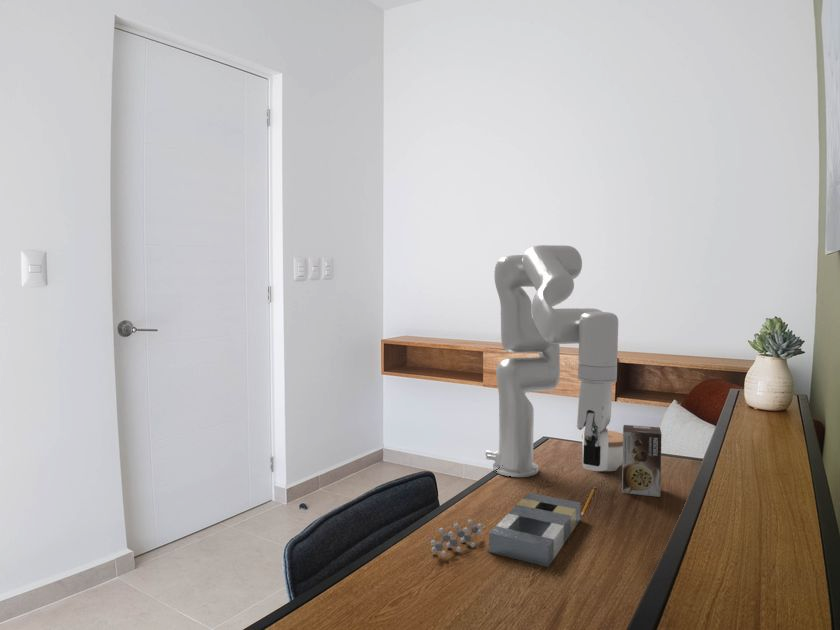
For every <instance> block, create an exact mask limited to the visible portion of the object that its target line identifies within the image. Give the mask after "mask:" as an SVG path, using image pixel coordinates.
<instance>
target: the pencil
mask: <svg viewBox="0 0 840 630" xmlns="http://www.w3.org/2000/svg"><path fill="white" fill-rule="evenodd" d="M596 489H597V486H593V488H592V489H591V492H590V493H589V496H588V497H587V499H586V502H585V503H584V504H585V505H584V507H583V509H581V510H582V511H580V517H581V516H583V515H584V514H585V513H586V512H587V511H586V510H587V508H588V506H589V504H590V502H591V499H592V498H593V496H594V493H595V492H596Z"/></svg>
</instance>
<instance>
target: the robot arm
mask: <svg viewBox="0 0 840 630" xmlns="http://www.w3.org/2000/svg"><path fill="white" fill-rule="evenodd" d="M582 268H583V260H582V256H581V254H580V252H579V250H578V249H577V248H575V247H574V246H571V245H563V244H561V245H560V244H559V245H555V244H553V245H552V244H551V245H550V244H549V245H547V244H544V245H543V244H542V245H541V244H539V245H534V246H531V247H530V248H528V249H527V250H526V251H525V252H524V253H523V254H515V255H514V254H511V255H507V256H506V255H505V256H504V257H501V258H500V259H498V260H497V262H496V263H495V267H494V284H495V288H496V292H497V294H498V299H499V301H500V302H499V304H500V338H501V346H502V348H503V350H505V352H507V353H513V354H514V353H515V354H516V353H517V354H526V353H527V354H529V353H532V354H533V353H537V354H538V357H537V356H536V357H510V358H505V359H503V360H502V361H500V362H499V363H498V364H497V366H496V370H495V376H496V384H497V390H498V406H499V407H498V411H499V412H498V450H497V451H493V450H486V451H485V458H486V460H491V461H494V463H493V465H492V470H493V471H494V472H495V473H496V474H499V475H502V476H506V477H509V476H511V478H512V477H513V478H527V477H532V476H534V475H537V474H538V473H539V469H540V468H539V465H538V464H537V463H535V462H534V424H535V423H534V421H535V420H534V416H535V413H534V412H535V410H534V405H533V404H532V402H531V401H530V400H529V399H528V397H527V395H526V393H533V392H534V393H537V392H550V391H553V390H555V389H556V388H557V387H559V383H560V378H561V375H560V374H561V362H560V360H561V359H560V353H561V352H560V349H561V347H560V346H561V345H564V344H565V345H567V344H568V345H569V344H570V345H571V344H572V345H573V344H575V345H576V344H578V359H577V360H578V364H577V365H578V367H577V369H578V370H577V379H578V381H580V386H579V387H580V388H579V395H578V407H577V408H578V409H577V420H576V421H577V422H576V424H577V425H576V427H577V429H578V430H579V431H581V430H583V429H584V431H583V432H584V456H583V463H584V464H586V465H592V466H599V465H600V451H601V446H599V439H600V432H601V431H604V432H606V433H607V431H606V429H607V427H608V425H609V424H610V423H611V417H612V395H613V394H612V388H613V387H612V384H614V383H617V382H618V381H617V380H618V379H617V378H618V348H619V346H618V345H619V343H618V342H619V318H618V316H617V314H615V313H613V312H608V311H602V310H600V309H598V308H554V307H555V306H557V305H559V304H561V303H562V302H565V301H566V300H567V299H568V298H569V297H570V296H571V295H572V293H573V292H574V289H575V288H574V287H575V281H574V280H575V279H576V278H577V277H579V275H580V274H581V271H582ZM523 287H524V288H525V287H526V288H528V287H529V288H530V287H531V288H532V287H533V288H534V289H535V290H536V292H535V294H534V295H533V299H531V298H530V296H529V295H528V293H527V292H526V291H525V290H524V288H523ZM595 430H597V431H595ZM593 433H594V434H596V439H595V436H594V435H593ZM502 465H503V466H502ZM499 467H500V468H499ZM498 468H499V469H498ZM496 469H498V470H496ZM495 470H496V471H497V472H496V471H495Z"/></svg>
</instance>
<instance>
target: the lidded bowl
mask: <svg viewBox="0 0 840 630" xmlns="http://www.w3.org/2000/svg"><path fill="white" fill-rule="evenodd" d="M606 431H607V433H608V434H609V439H608V469H607V470H605V471H604V472H614V471H617V470H619V469H618V468H619V467H621V466H623V432H619V431H613V430H609V429H608V428H606ZM581 439H582V440H583V433H581Z"/></svg>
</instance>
